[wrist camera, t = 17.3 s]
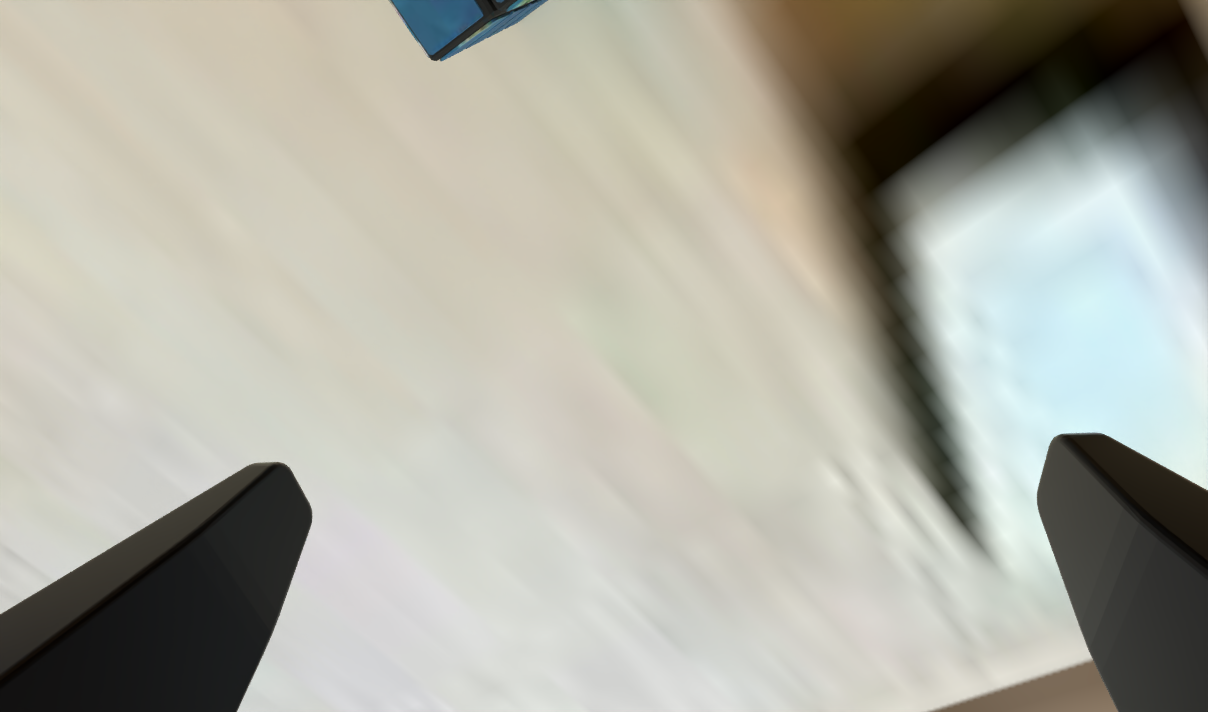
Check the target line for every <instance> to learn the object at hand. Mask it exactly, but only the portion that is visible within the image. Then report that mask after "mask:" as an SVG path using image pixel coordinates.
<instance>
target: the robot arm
mask: <svg viewBox="0 0 1208 712" xmlns="http://www.w3.org/2000/svg"><path fill="white" fill-rule="evenodd" d="M1037 505H1038V510H1039V514H1040V517H1041V520H1042V523H1043V525H1044V528H1045V531H1046V534H1047V537H1048V539H1049V542H1050V545H1051V548H1052V551H1053V553H1054V556H1055V559H1056V562H1057V565H1058V567H1059V570H1060V573H1061V576H1062V579H1063V581H1064V584H1065V587H1066V590H1067V593H1068V596H1069V598H1070V601H1071V604H1072V607H1073V610H1074V612H1075V615H1076V618H1077V621H1078V624H1079V626H1080V629H1081V632H1082V634H1083V637H1084V639H1085V642H1086V644H1087V647H1088V650H1089V652H1090V654H1091V656H1092V658H1093V661H1094V663H1095V665H1096V667H1097V669H1098V671H1099V674H1100V676H1101V678H1102V680H1103V682H1104V684H1105V686H1106V688H1107V690H1108V692H1109V694H1110V696H1111V698H1112V700H1113V702H1114V704H1115V706H1116V708H1117V710H1118V712H1208V490H1206V489H1204V488H1202V487H1200V486H1198V485H1197V484H1195V483H1193V482H1191V481H1189V480H1188V479H1186V478H1184V477H1182V476H1180V475H1178V474H1177V473H1175V472H1173V471H1171V470H1169V469H1167V468H1166V467H1164V466H1162V465H1160V464H1158V463H1156V462H1155V461H1153V460H1151V459H1149V458H1147V457H1146V456H1144V455H1142V454H1140V453H1138V452H1136V451H1135V450H1133V449H1131V448H1129V447H1127V446H1125V445H1124V444H1122V443H1120V442H1118V441H1116V440H1114V439H1113V438H1111V437H1109V436H1107V435H1104V434H1101V433H1069V434H1060V435H1058V436H1056V437H1054V438H1053V440H1052V441H1051V443H1050V446H1049V449H1048V452H1047V456H1046V460H1045V464H1044V468H1043V471H1042V475H1041V479H1040V483H1039V486H1038V491H1037ZM311 523H312V509H311V506H310V503H309V502H308V500H307V498H306V496H305V494H304V493H303V491H302V489H301V487H300V485H299V483H298V482H297V480H296V478H295V476H294V474H293V472H292V471H291V469H290V468H289V467H288V466H287V465H285V464H284V463H280V462H266V463H254V464H251V465H249V466H247V467H245V468H243V469H242V470H240V471H238V472H237V473H235V474H233V475H232V476H230V477H228V478H227V479H225V480H223V481H222V482H220V483H218V484H217V485H215V486H213V487H212V488H210V489H208V490H207V491H205V492H203V493H202V494H200V495H198V496H197V497H195V498H193V499H192V500H190V501H188V502H187V503H185V504H183V505H182V506H180V507H178V508H177V509H175V510H173V511H172V512H170V513H168V514H167V515H165V516H163V517H162V518H160V519H158V520H157V521H155V522H153V523H152V524H150V525H148V526H147V527H145V528H143V529H142V530H140V531H138V532H137V533H135V534H133V535H132V536H130V537H128V538H127V539H125V540H123V541H122V542H120V543H118V544H117V545H115V546H113V547H112V548H110V549H108V550H107V551H105V552H103V553H102V554H100V555H98V556H97V557H95V558H93V559H92V560H90V561H88V562H87V563H85V564H83V565H82V566H80V567H78V568H77V569H75V570H73V571H72V572H70V573H68V574H67V575H65V576H63V577H62V578H60V579H58V580H57V581H55V582H53V583H52V584H50V585H48V586H47V587H45V588H43V589H42V590H40V591H38V592H37V593H35V594H33V595H32V596H30V597H28V598H27V599H25V600H23V601H22V602H20V603H18V604H17V605H15V606H13V607H12V608H10V609H8V610H7V611H5V612H3V613H2V614H0V712H237V710H238V708H239V706H240V704H241V702H242V699H243V697H244V695H245V693H246V691H247V689H248V686H249V684H250V682H251V680H252V678H253V676H254V673H255V671H256V669H257V667H258V665H259V663H260V660H261V658H262V656H263V654H264V652H265V649H266V647H267V645H268V643H269V640H270V638H271V636H272V633H273V631H274V628H275V625H276V623H277V620H278V617H279V615H280V612H281V609H282V606H283V603H284V601H285V598H286V595H287V592H288V589H289V587H290V584H291V581H292V578H293V575H294V572H295V570H296V567H297V564H298V561H299V558H300V555H301V553H302V550H303V547H304V544H305V541H306V538H307V536H308V533H309V530H310V527H311Z"/></svg>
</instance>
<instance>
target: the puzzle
mask: <svg viewBox="0 0 1208 712" xmlns="http://www.w3.org/2000/svg"><path fill="white" fill-rule="evenodd" d="M389 1H390V3H391V4H392V6H393V7H394V9H395V10H396V12H397V13H398V15H399V16H400V18H401V19H402V20H403V22H404V23H405V25H406V26H407V28H408V29H409V31H410V32H411V34H412V35H413V36H414V38H415V39H416V41H417V42H418V44H419V45H420V47H421V48H422V50H423V51H424V53H425V54H426V55H427V57H429V58H430V59H431V60H434V61H437V60H439V59H440V61H443V60H445V59H447V58H449V57H451V56H453V55H455V54H457V53H459V52H461V51H462V50H464V49H465V48H466V49H467V48H469V47H471V46H473V45H475V44H477V43H479V42H481V41H483V40H484V39H485V38H489V37H490V36H492V35H494V34H496V33H498V32H500V31H502V30H503V29H506V28H508V27H510V26H512V25H514V24H516V23H518V22H519V21H520V20H522V19H523V18H524V17H526V16H527V15H528V14H530V13H531V12H532V11H534V10H535V9H537V8H538V7H539V6H541V5H542V4H543V3H545V2H546V1H547V0H389Z"/></svg>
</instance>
